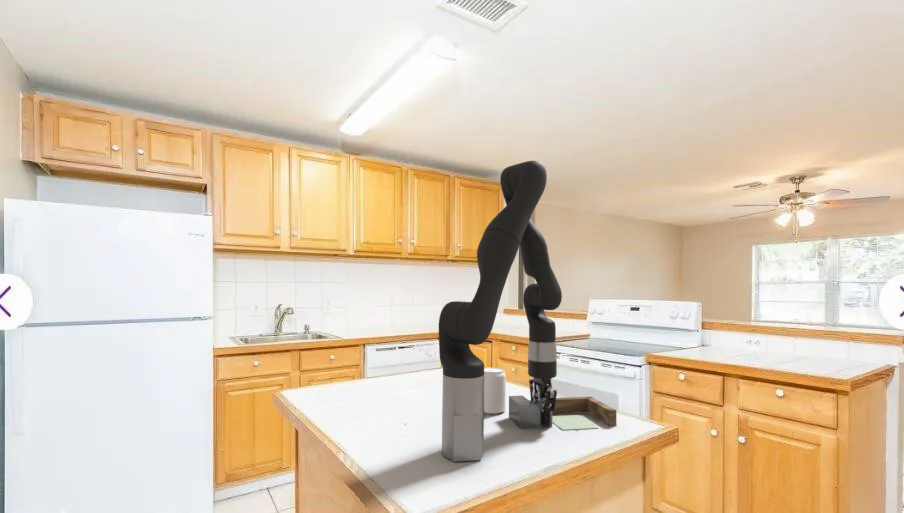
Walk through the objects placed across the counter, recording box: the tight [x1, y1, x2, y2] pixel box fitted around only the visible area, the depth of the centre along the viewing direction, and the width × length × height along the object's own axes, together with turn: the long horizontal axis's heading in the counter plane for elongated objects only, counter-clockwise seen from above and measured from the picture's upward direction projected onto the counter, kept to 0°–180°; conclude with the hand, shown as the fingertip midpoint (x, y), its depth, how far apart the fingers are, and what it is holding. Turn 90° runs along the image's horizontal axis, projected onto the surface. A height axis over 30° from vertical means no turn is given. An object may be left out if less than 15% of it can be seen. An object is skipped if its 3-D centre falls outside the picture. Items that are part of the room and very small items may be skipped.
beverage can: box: [484, 366, 507, 415], centre depth 130 cm, size 8×8×12 cm
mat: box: [552, 414, 599, 431], centre depth 120 cm, size 11×10×1 cm
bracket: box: [508, 395, 553, 430], centre depth 120 cm, size 9×9×6 cm
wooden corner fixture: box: [552, 396, 617, 427], centre depth 123 cm, size 14×18×4 cm
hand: (542, 422), depth 118 cm, fingers open, 4 cm apart
